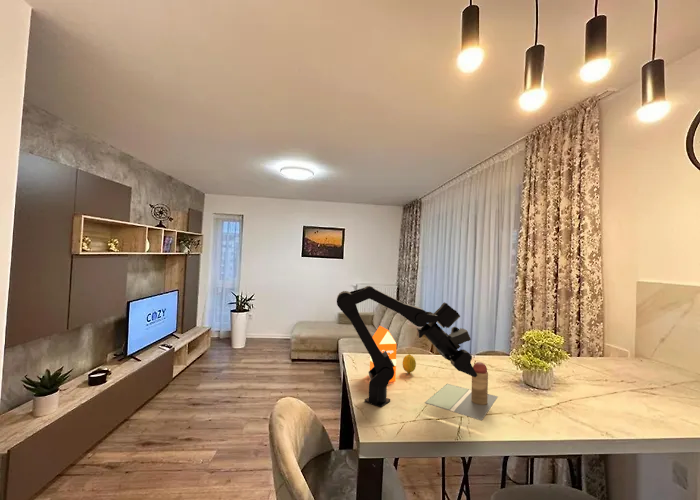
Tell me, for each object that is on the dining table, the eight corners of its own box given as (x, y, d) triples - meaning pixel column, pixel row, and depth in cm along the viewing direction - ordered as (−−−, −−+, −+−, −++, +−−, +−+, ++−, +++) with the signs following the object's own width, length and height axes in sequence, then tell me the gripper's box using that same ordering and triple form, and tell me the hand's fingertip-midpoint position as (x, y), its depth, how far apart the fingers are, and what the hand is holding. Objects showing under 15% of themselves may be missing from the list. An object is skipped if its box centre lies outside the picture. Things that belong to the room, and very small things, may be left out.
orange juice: (377, 382, 122) (379, 330, 123) (369, 374, 131) (370, 325, 131) (396, 381, 124) (397, 329, 125) (386, 373, 133) (388, 325, 134)
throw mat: (481, 422, 94) (481, 420, 94) (424, 404, 104) (424, 402, 104) (497, 398, 111) (497, 396, 111) (447, 385, 122) (447, 383, 122)
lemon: (415, 376, 130) (416, 356, 131) (402, 375, 132) (402, 355, 132) (415, 372, 136) (416, 353, 136) (402, 370, 137) (403, 351, 137)
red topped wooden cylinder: (485, 406, 103) (486, 365, 104) (469, 402, 106) (470, 362, 107) (489, 401, 107) (489, 362, 108) (473, 397, 110) (474, 359, 111)
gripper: (466, 326, 98) (501, 363, 98) (446, 316, 117) (475, 347, 117) (440, 351, 98) (475, 388, 97) (424, 337, 116) (453, 368, 116)
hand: (470, 371), depth 107 cm, fingers open, 9 cm apart
